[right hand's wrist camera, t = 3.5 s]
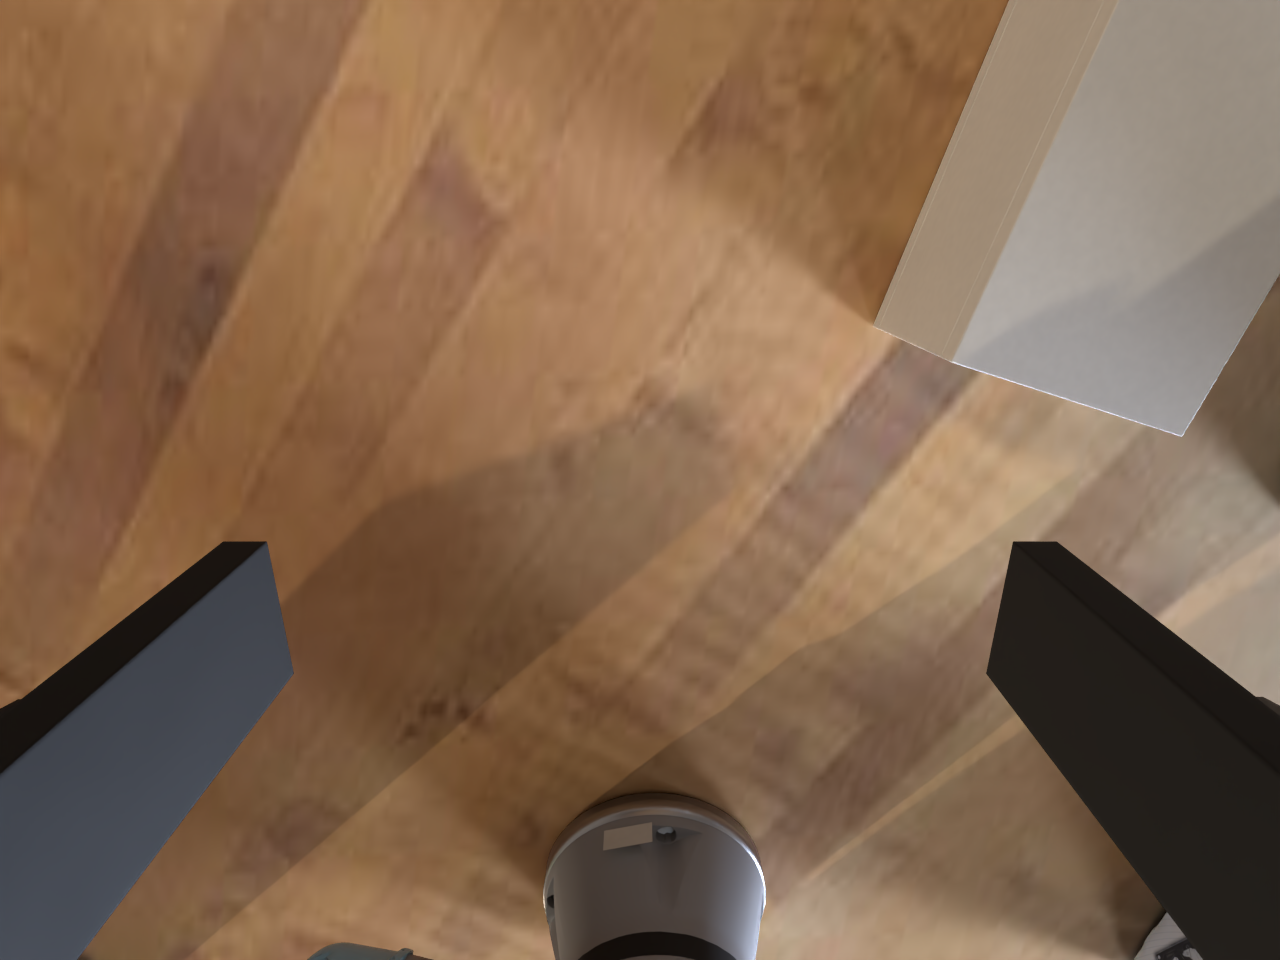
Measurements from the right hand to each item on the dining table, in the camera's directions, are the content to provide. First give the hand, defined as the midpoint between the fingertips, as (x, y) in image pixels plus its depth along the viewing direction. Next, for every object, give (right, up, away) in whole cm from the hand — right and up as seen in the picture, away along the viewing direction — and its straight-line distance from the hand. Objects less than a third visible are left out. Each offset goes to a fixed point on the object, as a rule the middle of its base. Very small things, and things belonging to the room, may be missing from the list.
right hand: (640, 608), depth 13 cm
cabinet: (+20, +17, +22) cm, 34 cm away
